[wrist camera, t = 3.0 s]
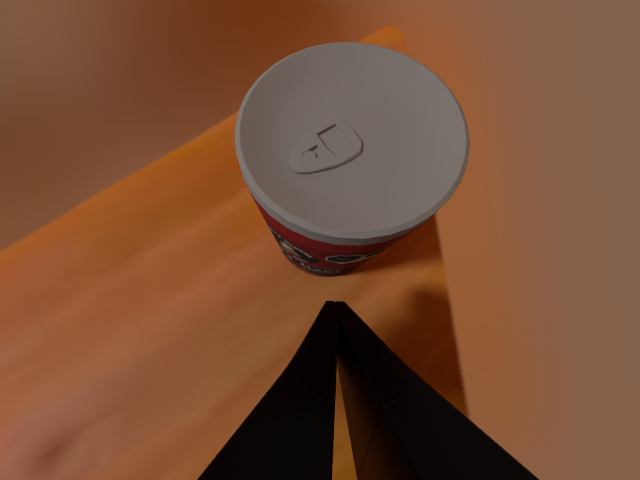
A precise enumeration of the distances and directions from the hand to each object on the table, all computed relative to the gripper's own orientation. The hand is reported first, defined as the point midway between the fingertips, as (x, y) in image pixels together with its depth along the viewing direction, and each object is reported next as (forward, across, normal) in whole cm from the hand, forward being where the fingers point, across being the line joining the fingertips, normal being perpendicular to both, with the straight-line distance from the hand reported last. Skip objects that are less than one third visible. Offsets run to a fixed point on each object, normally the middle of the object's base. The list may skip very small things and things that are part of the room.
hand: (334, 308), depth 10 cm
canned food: (+9, 0, 0) cm, 9 cm away
